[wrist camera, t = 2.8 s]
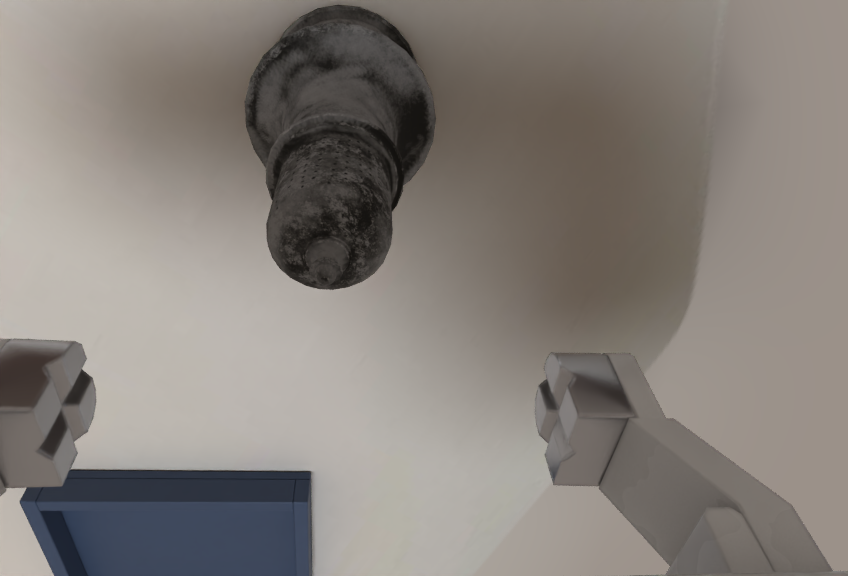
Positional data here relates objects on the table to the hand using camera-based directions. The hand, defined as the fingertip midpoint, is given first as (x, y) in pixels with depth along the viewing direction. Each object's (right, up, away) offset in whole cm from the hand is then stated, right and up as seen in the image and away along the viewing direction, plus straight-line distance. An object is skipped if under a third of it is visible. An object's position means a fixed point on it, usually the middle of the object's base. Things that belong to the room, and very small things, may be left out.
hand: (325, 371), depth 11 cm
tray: (-13, -14, +27) cm, 33 cm away
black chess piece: (-1, +9, +11) cm, 14 cm away
